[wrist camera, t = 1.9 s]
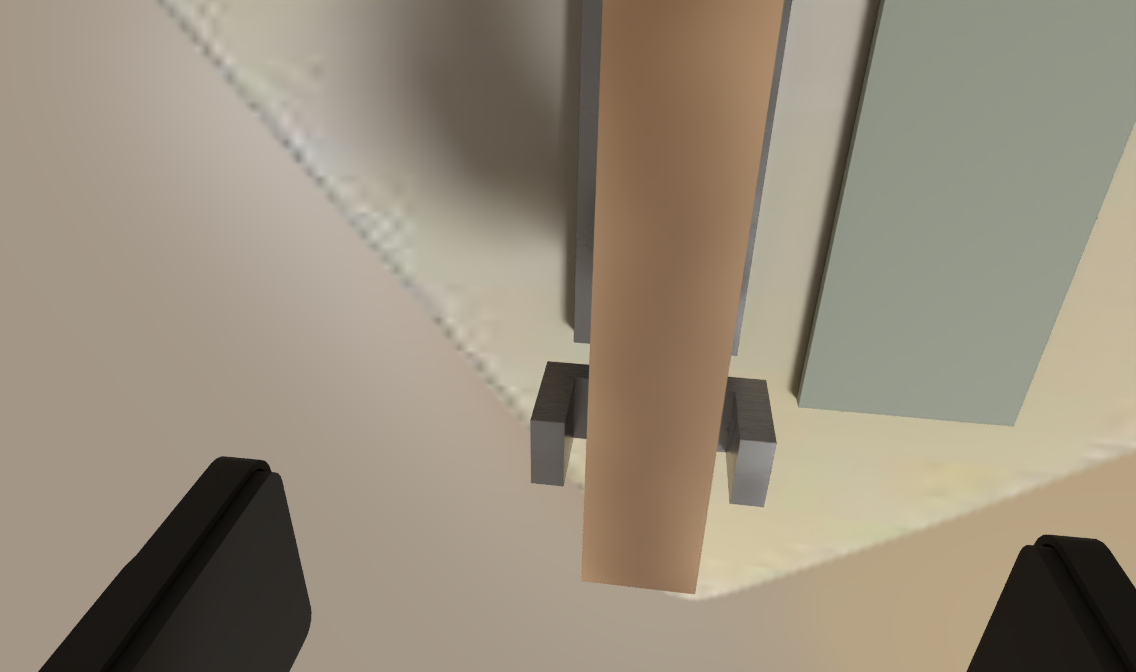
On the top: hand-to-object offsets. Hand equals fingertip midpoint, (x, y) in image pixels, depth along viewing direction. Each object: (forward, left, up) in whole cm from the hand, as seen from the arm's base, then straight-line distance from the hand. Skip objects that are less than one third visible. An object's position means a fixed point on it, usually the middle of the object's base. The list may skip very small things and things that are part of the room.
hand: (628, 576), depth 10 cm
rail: (0, 0, -13) cm, 13 cm away
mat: (-11, 0, -22) cm, 25 cm away
